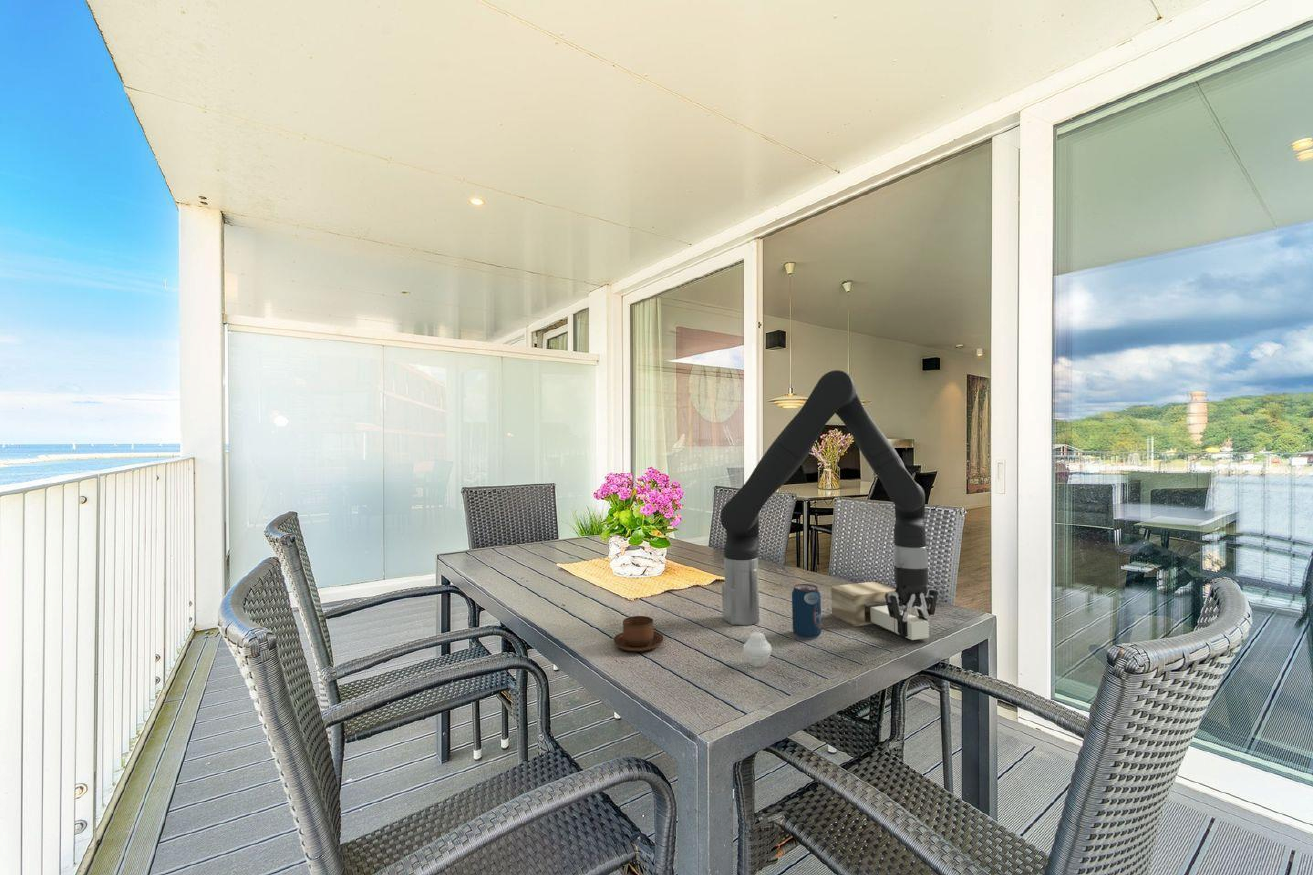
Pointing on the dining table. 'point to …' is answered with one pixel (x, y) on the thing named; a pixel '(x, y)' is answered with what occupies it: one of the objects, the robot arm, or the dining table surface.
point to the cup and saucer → (638, 634)
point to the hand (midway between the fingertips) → (912, 634)
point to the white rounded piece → (757, 649)
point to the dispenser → (858, 601)
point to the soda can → (806, 611)
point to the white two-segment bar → (881, 617)
